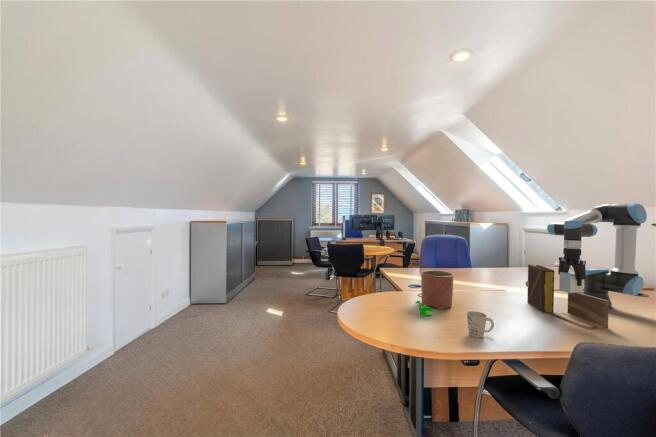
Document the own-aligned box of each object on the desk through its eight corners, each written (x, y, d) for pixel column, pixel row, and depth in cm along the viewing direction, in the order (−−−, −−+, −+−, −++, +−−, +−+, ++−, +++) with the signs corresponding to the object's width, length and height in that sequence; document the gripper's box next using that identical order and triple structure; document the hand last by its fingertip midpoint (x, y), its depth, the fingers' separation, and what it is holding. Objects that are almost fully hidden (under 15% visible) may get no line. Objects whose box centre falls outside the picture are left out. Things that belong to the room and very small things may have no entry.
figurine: (410, 313, 164) (413, 297, 164) (430, 316, 166) (433, 300, 166) (415, 317, 158) (418, 300, 158) (435, 320, 159) (438, 304, 160)
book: (557, 313, 169) (558, 270, 168) (540, 312, 170) (541, 270, 170) (537, 302, 190) (538, 264, 190) (523, 301, 192) (524, 263, 192)
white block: (572, 290, 163) (572, 272, 163) (583, 293, 156) (583, 274, 156) (559, 290, 162) (559, 272, 162) (569, 293, 156) (570, 274, 155)
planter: (459, 306, 180) (459, 274, 180) (440, 311, 170) (441, 277, 169) (432, 298, 196) (433, 269, 196) (414, 303, 185) (414, 272, 185)
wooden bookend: (570, 314, 167) (571, 290, 167) (608, 328, 147) (608, 300, 147) (551, 315, 166) (552, 290, 166) (587, 329, 146) (587, 301, 146)
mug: (462, 332, 140) (463, 311, 140) (487, 331, 142) (487, 311, 141) (472, 339, 132) (473, 317, 132) (499, 338, 133) (499, 317, 133)
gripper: (550, 246, 168) (549, 285, 168) (583, 250, 149) (582, 295, 149) (562, 246, 169) (561, 285, 169) (596, 250, 150) (595, 294, 150)
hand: (571, 289), depth 159 cm, fingers closed on white block, 6 cm apart
